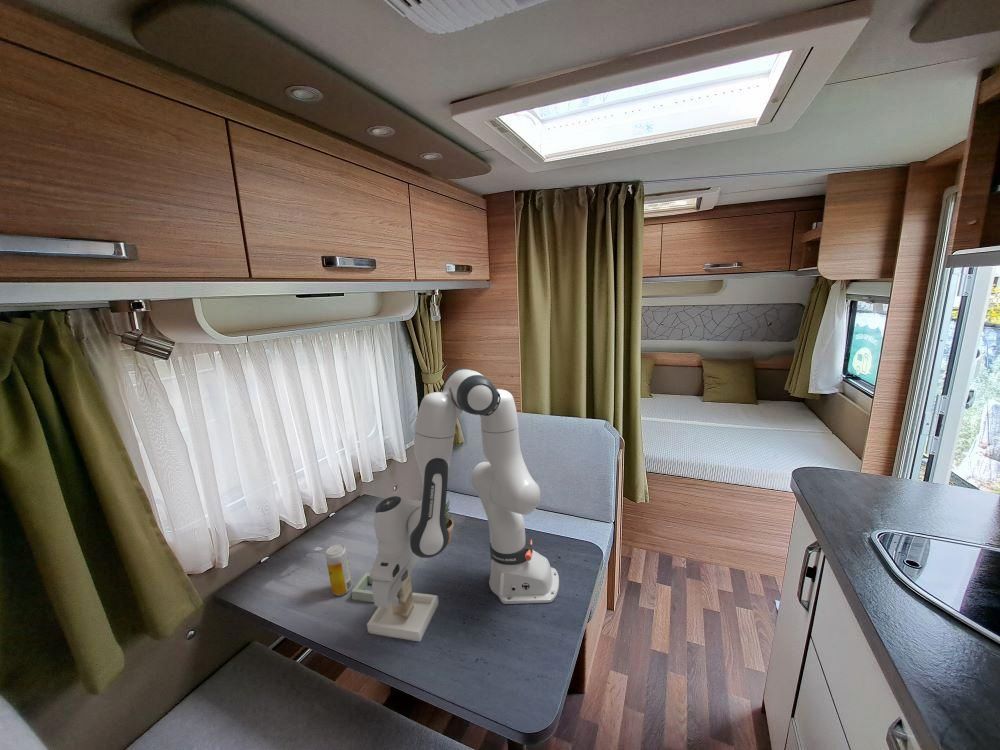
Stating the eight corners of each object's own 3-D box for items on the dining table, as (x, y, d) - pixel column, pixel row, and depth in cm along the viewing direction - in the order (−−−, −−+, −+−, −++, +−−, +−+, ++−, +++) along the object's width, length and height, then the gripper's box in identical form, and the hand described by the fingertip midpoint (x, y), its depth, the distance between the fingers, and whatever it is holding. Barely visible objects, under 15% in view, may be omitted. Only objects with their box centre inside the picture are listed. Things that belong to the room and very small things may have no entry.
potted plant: (430, 535, 150) (423, 478, 145) (454, 531, 151) (448, 474, 146) (429, 551, 140) (422, 490, 135) (455, 547, 141) (449, 487, 136)
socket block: (389, 583, 126) (388, 575, 125) (375, 602, 118) (374, 594, 117) (367, 580, 128) (366, 572, 127) (352, 599, 120) (351, 591, 119)
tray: (438, 604, 116) (437, 595, 115) (420, 641, 103) (419, 632, 103) (391, 597, 120) (390, 589, 119) (368, 633, 107) (366, 624, 107)
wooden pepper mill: (415, 606, 113) (410, 567, 110) (407, 620, 108) (402, 580, 105) (400, 603, 114) (394, 565, 112) (391, 618, 109) (385, 578, 107)
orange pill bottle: (339, 582, 128) (332, 543, 125) (356, 583, 127) (349, 543, 124) (328, 596, 122) (320, 555, 119) (346, 597, 121) (338, 556, 118)
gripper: (402, 530, 118) (408, 569, 121) (365, 578, 98) (372, 623, 101) (421, 532, 116) (426, 571, 119) (387, 580, 97) (394, 626, 100)
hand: (401, 595), depth 110 cm, fingers closed on wooden pepper mill, 4 cm apart
